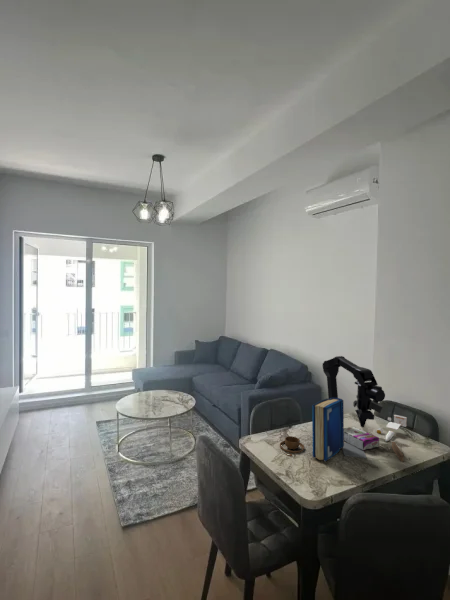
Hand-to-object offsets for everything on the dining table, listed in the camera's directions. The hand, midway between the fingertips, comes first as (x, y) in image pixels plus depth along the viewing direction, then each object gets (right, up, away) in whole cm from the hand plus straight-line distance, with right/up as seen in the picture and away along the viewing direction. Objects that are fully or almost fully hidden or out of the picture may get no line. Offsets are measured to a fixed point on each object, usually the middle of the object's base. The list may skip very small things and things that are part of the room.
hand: (362, 426), depth 161 cm
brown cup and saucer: (-31, -12, 0) cm, 33 cm away
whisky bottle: (+26, -13, +25) cm, 38 cm away
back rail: (+16, -13, -2) cm, 20 cm away
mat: (-4, -12, +1) cm, 13 cm away
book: (-17, -12, -3) cm, 21 cm away
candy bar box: (+5, -9, +1) cm, 11 cm away
